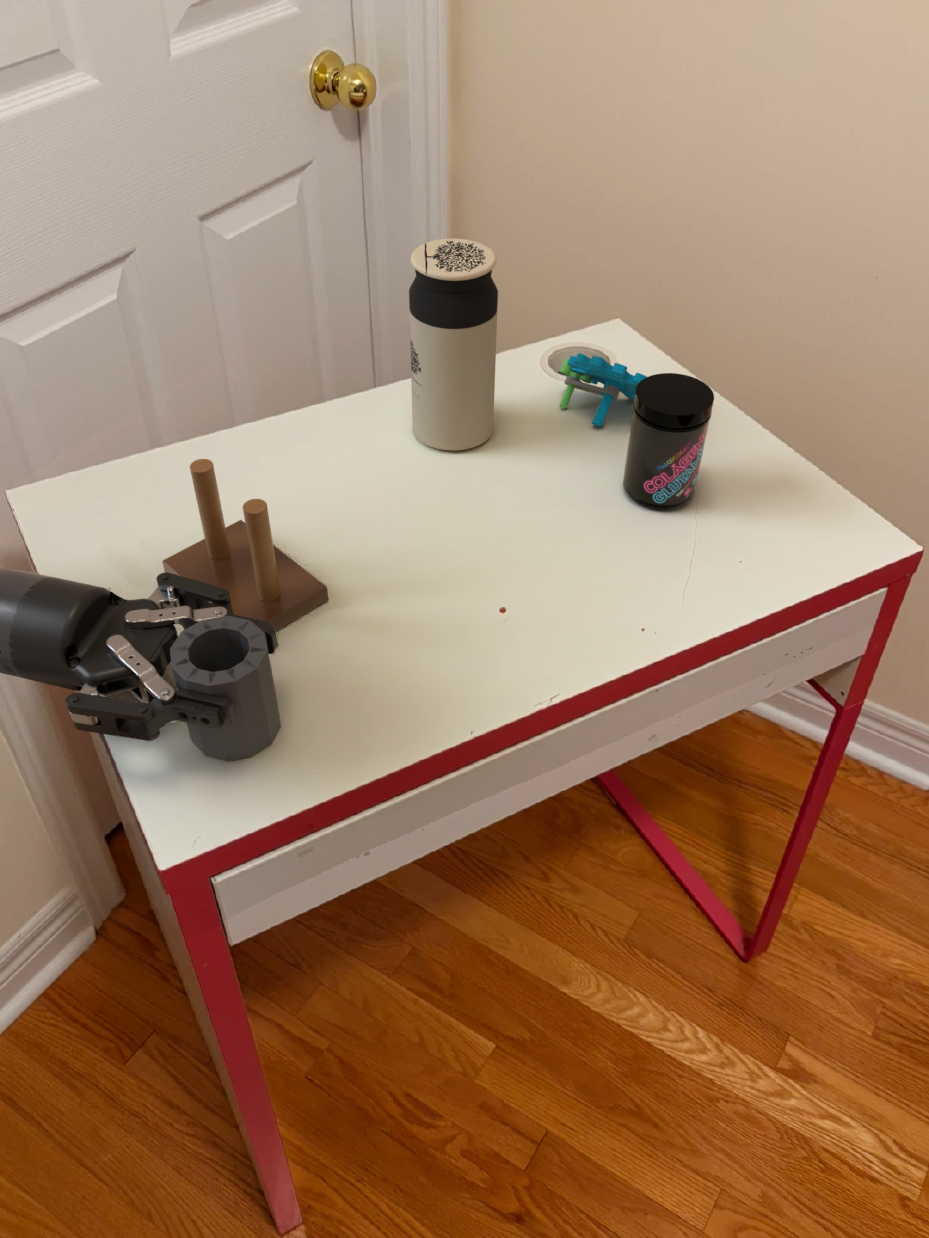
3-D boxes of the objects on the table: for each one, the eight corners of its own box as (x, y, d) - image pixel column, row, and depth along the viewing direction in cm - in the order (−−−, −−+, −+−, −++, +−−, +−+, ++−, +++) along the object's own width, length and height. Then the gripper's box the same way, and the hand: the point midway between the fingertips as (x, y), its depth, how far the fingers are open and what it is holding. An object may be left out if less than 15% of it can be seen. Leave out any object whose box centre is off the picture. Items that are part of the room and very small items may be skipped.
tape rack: (329, 600, 86) (318, 498, 79) (249, 648, 82) (229, 545, 75) (243, 532, 92) (225, 432, 85) (164, 574, 88) (139, 472, 81)
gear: (681, 398, 105) (644, 361, 97) (658, 453, 106) (619, 420, 97) (590, 374, 111) (547, 337, 103) (568, 426, 112) (524, 393, 103)
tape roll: (258, 769, 74) (242, 693, 68) (175, 748, 75) (153, 672, 69) (293, 703, 78) (281, 626, 72) (214, 684, 79) (197, 608, 74)
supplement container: (623, 512, 95) (637, 413, 88) (619, 467, 100) (632, 371, 92) (698, 515, 95) (719, 417, 87) (690, 471, 100) (709, 374, 92)
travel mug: (496, 410, 107) (502, 239, 94) (489, 456, 101) (495, 279, 88) (418, 405, 107) (414, 234, 95) (407, 450, 101) (401, 274, 89)
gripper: (-39, 661, 67) (198, 717, 64) (79, 525, 77) (289, 568, 74) (-4, 736, 73) (217, 791, 69) (102, 600, 83) (300, 642, 79)
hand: (253, 675), depth 72 cm, fingers closed on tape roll, 6 cm apart
